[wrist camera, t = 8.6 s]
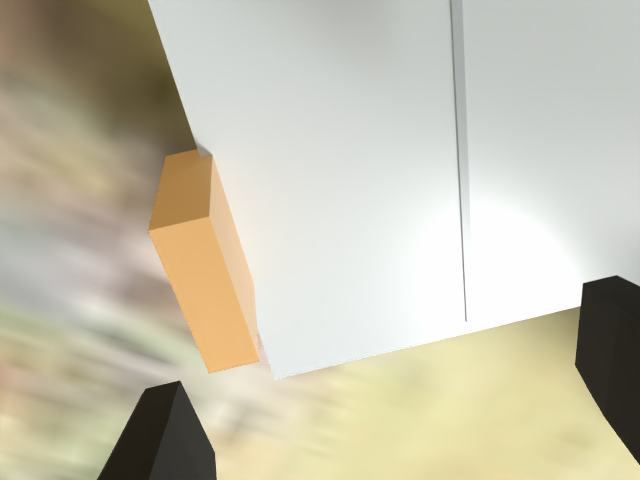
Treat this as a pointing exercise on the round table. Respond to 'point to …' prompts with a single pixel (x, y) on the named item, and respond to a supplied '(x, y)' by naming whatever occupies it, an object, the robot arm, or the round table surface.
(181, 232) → the lid
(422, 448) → the round table surface
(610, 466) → the round table surface
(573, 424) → the round table surface
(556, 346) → the round table surface
